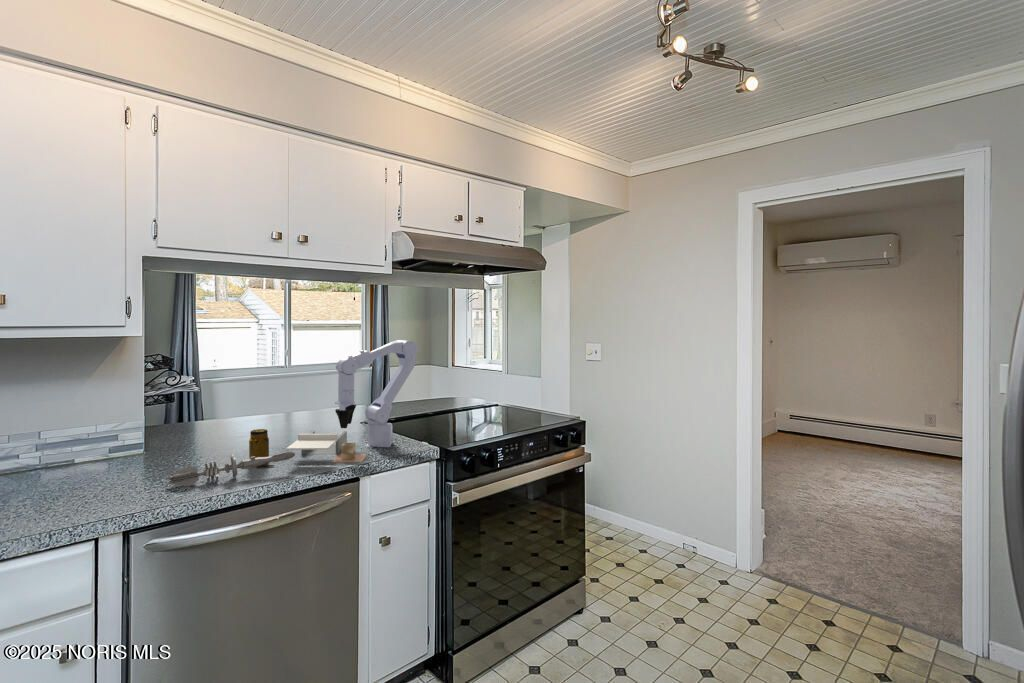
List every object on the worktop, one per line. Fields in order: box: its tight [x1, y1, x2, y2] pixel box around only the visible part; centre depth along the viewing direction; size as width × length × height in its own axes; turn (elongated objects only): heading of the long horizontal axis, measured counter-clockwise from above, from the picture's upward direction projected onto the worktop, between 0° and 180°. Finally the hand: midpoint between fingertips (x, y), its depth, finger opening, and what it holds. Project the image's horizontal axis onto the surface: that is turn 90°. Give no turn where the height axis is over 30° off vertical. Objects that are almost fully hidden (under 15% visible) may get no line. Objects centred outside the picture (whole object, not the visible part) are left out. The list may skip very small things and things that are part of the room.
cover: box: [286, 433, 339, 451], centre depth 179 cm, size 14×13×2 cm
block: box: [340, 442, 356, 460], centre depth 183 cm, size 4×4×5 cm
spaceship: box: [166, 451, 296, 487], centre depth 160 cm, size 8×35×8 cm
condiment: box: [248, 428, 275, 469], centre depth 175 cm, size 7×8×12 cm
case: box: [301, 430, 348, 455], centre depth 194 cm, size 13×13×6 cm
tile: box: [332, 453, 368, 463], centre depth 183 cm, size 10×10×1 cm
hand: (346, 425), depth 195 cm, fingers open, 7 cm apart
